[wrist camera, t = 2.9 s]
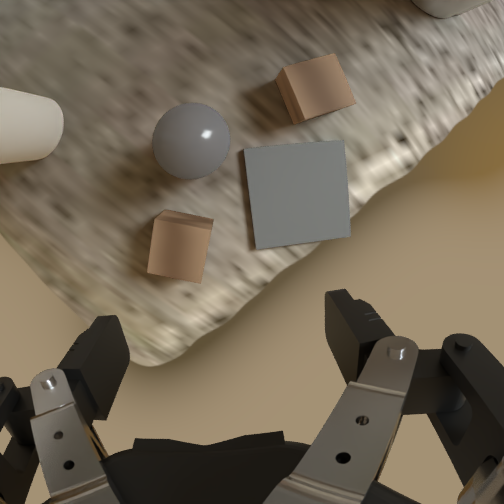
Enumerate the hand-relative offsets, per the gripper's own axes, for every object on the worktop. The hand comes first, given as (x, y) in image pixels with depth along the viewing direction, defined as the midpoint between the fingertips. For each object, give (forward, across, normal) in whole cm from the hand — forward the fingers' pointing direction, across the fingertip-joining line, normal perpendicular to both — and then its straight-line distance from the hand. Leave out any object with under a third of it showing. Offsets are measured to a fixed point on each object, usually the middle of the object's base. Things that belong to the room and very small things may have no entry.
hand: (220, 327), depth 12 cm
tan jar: (+21, +2, -7) cm, 23 cm away
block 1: (+21, +5, +2) cm, 22 cm away
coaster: (+21, -7, -1) cm, 23 cm away
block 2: (+22, -9, -11) cm, 26 cm away
